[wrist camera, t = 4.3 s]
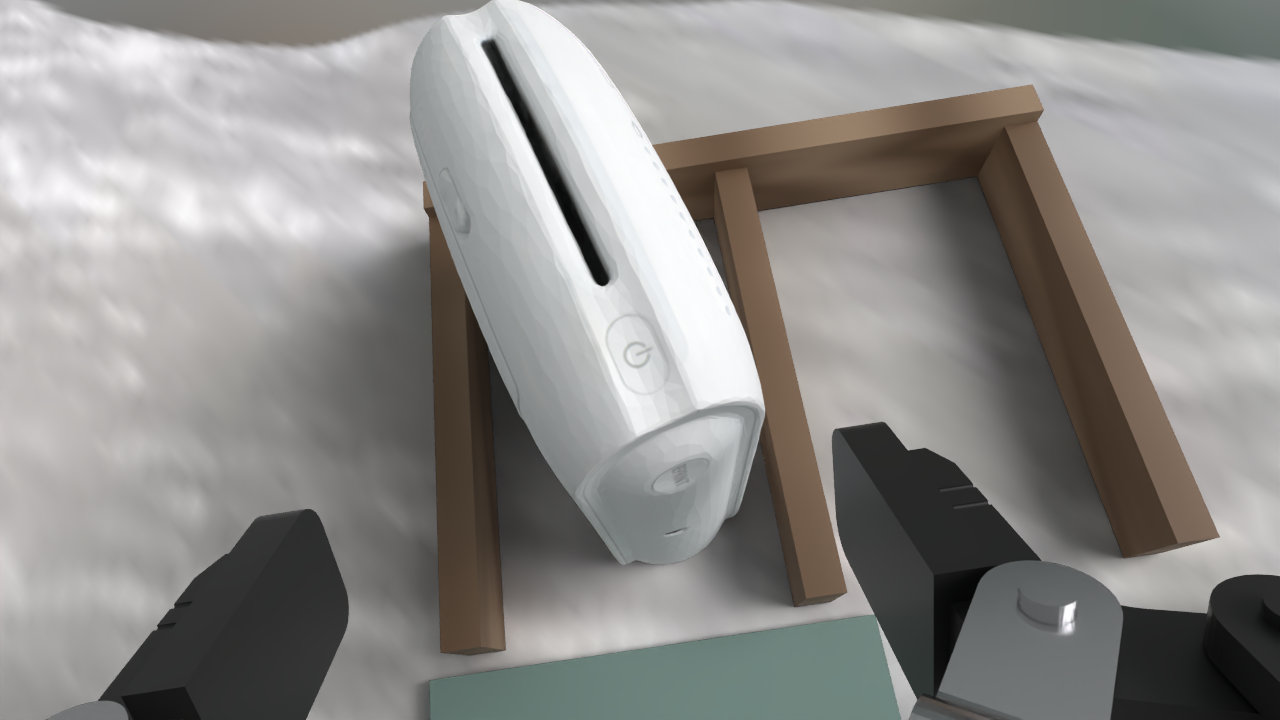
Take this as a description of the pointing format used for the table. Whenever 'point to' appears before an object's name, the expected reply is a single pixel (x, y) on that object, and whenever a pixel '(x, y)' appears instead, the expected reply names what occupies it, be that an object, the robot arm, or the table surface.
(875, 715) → the mat
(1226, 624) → the robot arm
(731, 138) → the lane rack
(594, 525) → the photo printer
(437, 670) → the table surface
